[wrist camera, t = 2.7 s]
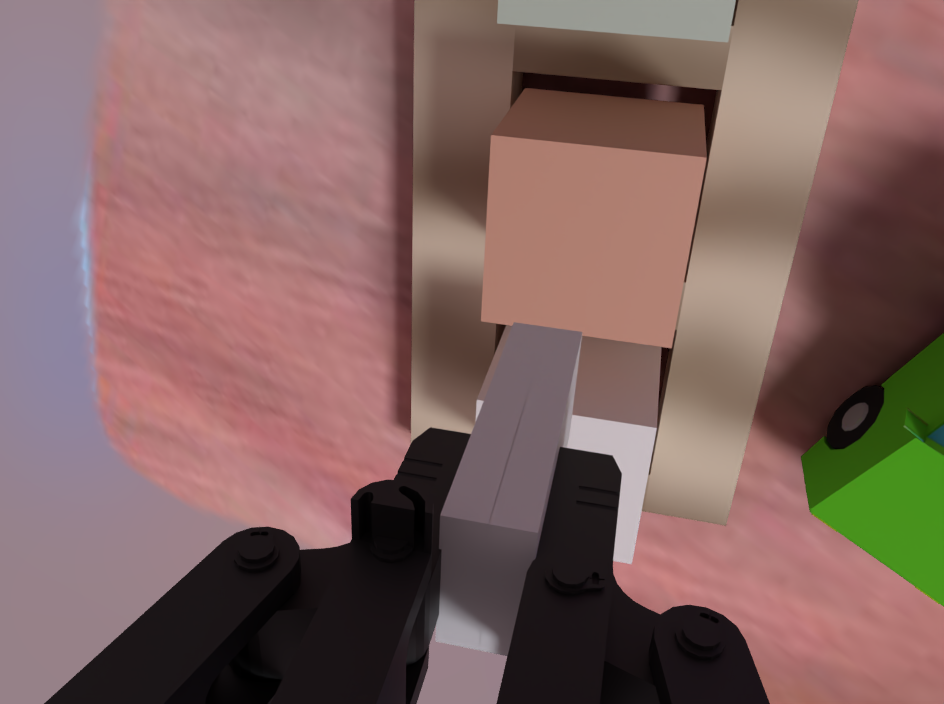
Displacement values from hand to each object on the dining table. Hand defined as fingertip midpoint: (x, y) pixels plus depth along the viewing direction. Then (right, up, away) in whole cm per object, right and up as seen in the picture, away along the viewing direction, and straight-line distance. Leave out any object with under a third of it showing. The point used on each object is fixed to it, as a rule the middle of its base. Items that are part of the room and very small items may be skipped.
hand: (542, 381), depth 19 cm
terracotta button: (+3, +7, +11) cm, 14 cm away
